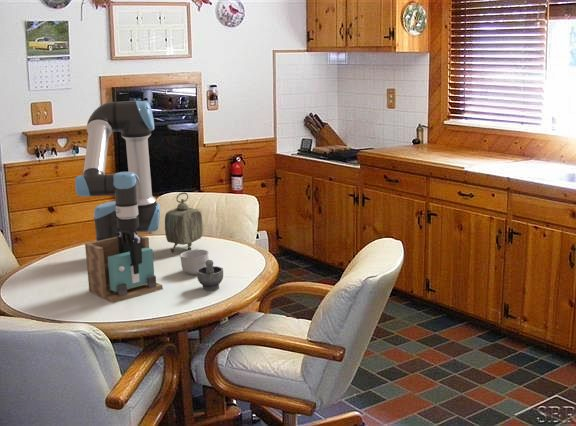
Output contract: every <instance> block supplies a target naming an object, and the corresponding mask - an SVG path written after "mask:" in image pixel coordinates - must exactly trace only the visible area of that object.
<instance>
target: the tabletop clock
mask: <svg viewBox="0 0 576 426" xmlns="http://www.w3.org/2000/svg"><path fill="white" fill-rule="evenodd" d="M181 195H186V198H185V199H183V198H182V199H180V201H179V200H178V199H179V197H180V196H181ZM188 199H189V195H188V193H187V192H180V193H178V194H177V195H176V199H175V200H176V202H177V203H178V204H177V206H176V207H175V208H172V209H170V210H168V211H167V212H166V213H165V214H164V215H165V216H164V231H165V238H166V241H167V242H168V243H172V244H174V245H173V247H172V248H170V252H172V253H173V252H175V248H176V247H177V246H178V245H183V246H184V245H187V251H189V250H192V247H191V246H192V243H194V242H196V241H198V240H201V238H203V237H202V236H203V233H204V232H203V216H202V212H201V211H200V210H199V209H198V208H191V207H190V206H189V204H187V203H186V201H188Z"/></svg>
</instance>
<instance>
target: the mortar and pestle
mask: <svg viewBox="0 0 576 426" xmlns="http://www.w3.org/2000/svg"><path fill="white" fill-rule="evenodd" d="M196 277H197V281H198V282H199V284H200V285H202V290H203V291H205V292H215V291H218V290H220V284H221V283H222V281H223V279H224V268H223V267H221V266H217V265H216V266H215V265H214V261H213V260H212V259H209V260H207V261H206V267H202V268H199V269H197V275H196Z"/></svg>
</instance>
